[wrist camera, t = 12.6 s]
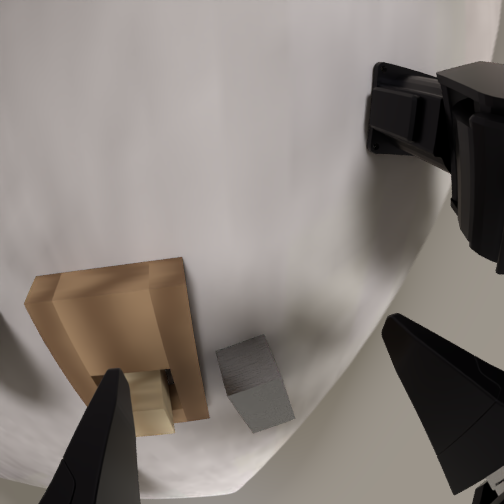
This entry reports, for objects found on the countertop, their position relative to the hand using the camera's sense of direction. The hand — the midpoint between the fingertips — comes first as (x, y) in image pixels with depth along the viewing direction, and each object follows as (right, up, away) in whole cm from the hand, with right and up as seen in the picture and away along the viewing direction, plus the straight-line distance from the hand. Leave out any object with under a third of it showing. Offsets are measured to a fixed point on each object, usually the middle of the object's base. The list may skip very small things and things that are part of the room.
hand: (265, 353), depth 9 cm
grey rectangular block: (0, -8, +20) cm, 22 cm away
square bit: (-10, -7, +16) cm, 20 cm away
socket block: (-10, -5, +14) cm, 19 cm away
